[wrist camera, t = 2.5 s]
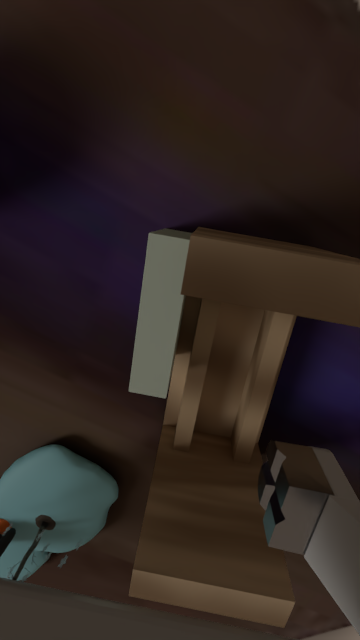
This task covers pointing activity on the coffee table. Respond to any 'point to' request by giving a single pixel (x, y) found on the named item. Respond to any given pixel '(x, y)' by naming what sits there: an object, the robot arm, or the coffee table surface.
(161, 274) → the door panel
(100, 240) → the coffee table surface
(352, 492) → the robot arm
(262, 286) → the wooden stand
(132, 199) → the coffee table surface
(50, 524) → the penguin figurine
